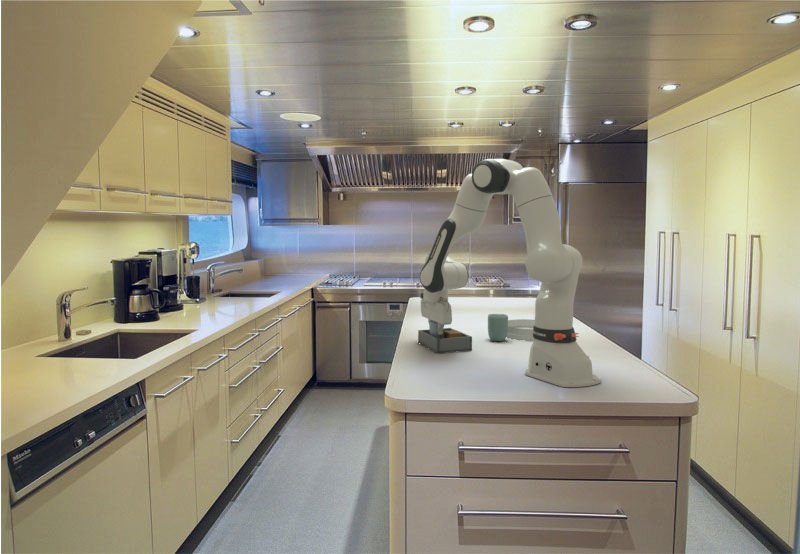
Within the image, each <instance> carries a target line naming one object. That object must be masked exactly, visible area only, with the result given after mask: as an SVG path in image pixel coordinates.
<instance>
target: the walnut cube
mask: <svg viewBox="0 0 800 554" xmlns="http://www.w3.org/2000/svg"><path fill="white" fill-rule="evenodd" d="M462 333H463V332H461V331H459V330H457V329H454V330H451V331H444V338H456V337H462Z"/></svg>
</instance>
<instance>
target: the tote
mask: <svg viewBox="0 0 800 554" xmlns="http://www.w3.org/2000/svg"><path fill="white" fill-rule="evenodd" d="M451 330H455V329H454V328H451V327H444V328H443V339H438V338H436V337H434V336H431V335H429V329H420V330H417V333H418V334H417V337H418V338H417V340H418V343H417V344H419V343H420V344H419V345H421V346H423V347H424V346H425V348H426V347H427V349H428V348H429V350H430V351H432V352H434V353H436V354H437V353H438V354H445V353H446V352H449V353H457V352H456V351H459V352H467V351H466V350H470V351H472V350H473V336H472V335H469V334H467V333H464V332H462V337H456V338H444V331H451ZM446 354H447V353H446Z"/></svg>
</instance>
